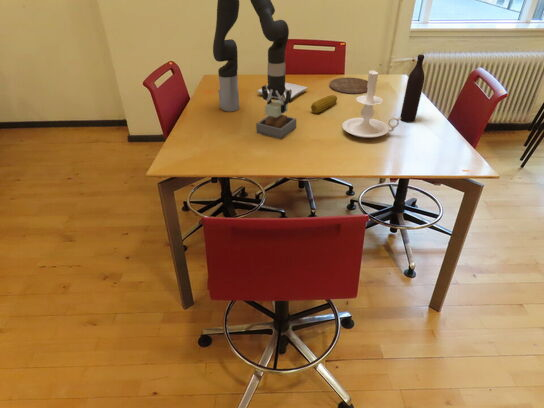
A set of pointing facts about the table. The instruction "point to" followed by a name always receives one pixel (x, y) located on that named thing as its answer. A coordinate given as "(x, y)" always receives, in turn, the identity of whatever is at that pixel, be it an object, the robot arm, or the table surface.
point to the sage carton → (274, 109)
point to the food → (323, 103)
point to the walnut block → (277, 121)
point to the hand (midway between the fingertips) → (276, 110)
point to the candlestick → (368, 114)
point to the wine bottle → (413, 92)
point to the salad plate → (295, 89)
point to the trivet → (349, 85)
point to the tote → (274, 131)
